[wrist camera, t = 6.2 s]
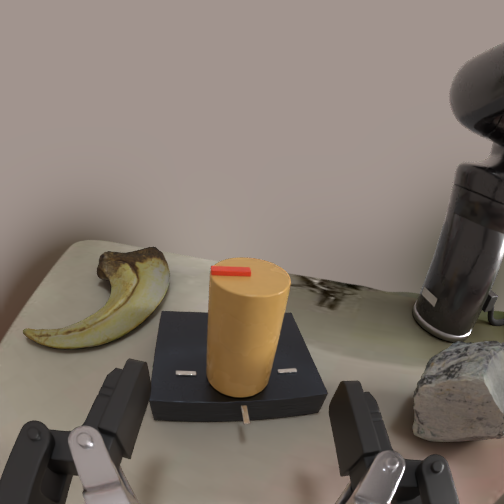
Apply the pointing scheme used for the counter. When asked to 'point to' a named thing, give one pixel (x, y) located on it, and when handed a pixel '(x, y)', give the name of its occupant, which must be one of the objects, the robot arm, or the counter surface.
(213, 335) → the tan cylinder
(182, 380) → the panel
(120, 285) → the claw
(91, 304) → the counter surface
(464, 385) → the stone
